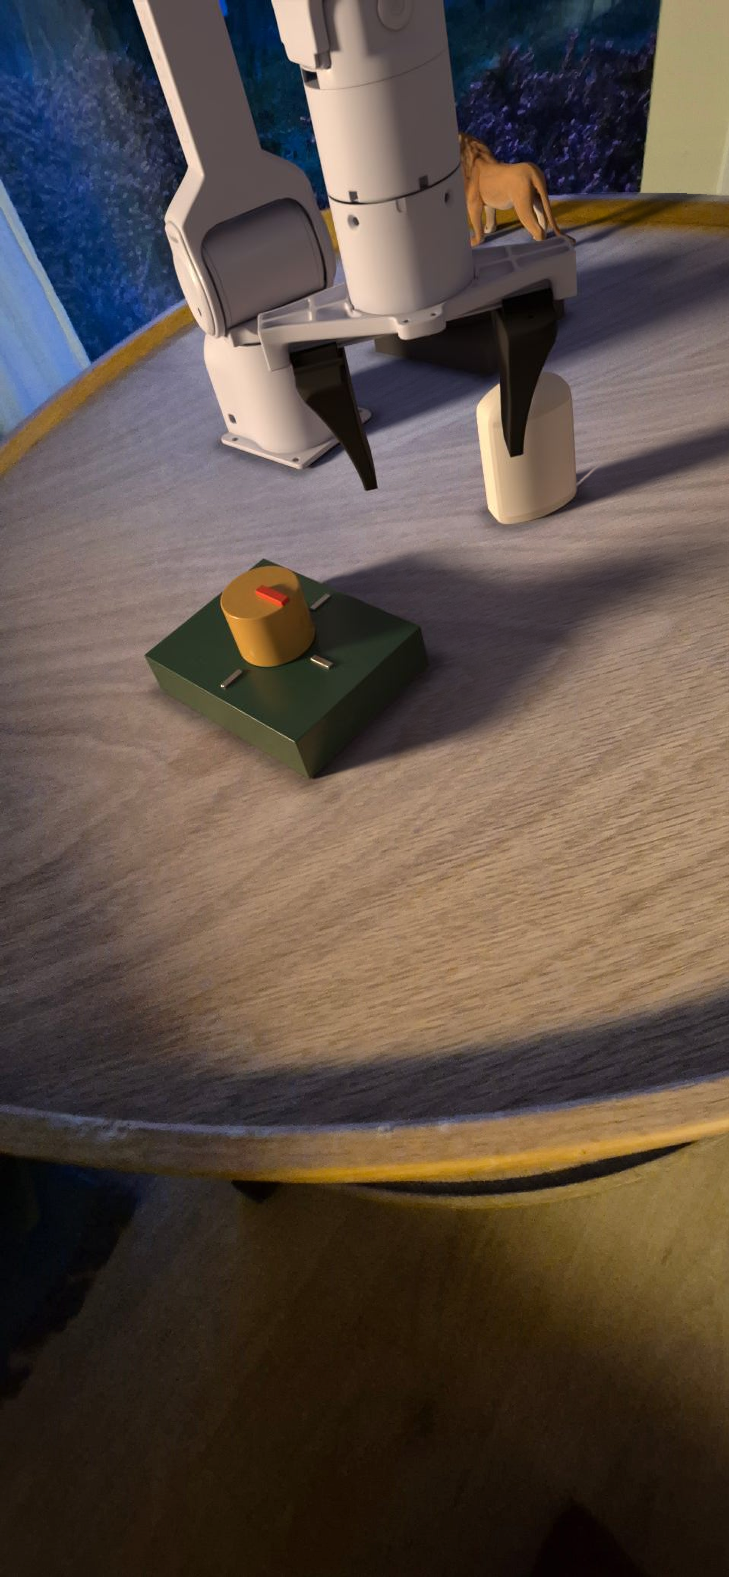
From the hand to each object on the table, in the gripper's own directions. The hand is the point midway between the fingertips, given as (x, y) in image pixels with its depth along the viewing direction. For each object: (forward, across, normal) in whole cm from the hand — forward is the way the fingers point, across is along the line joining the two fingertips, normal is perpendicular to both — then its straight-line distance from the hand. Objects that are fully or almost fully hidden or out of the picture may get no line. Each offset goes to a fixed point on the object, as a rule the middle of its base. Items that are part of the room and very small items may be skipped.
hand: (441, 463), depth 50 cm
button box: (+9, +5, +33) cm, 35 cm away
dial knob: (+6, -11, -4) cm, 13 cm away
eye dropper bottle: (+10, +6, +8) cm, 14 cm away
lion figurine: (+10, +11, +49) cm, 51 cm away
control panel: (+9, -11, -4) cm, 15 cm away
